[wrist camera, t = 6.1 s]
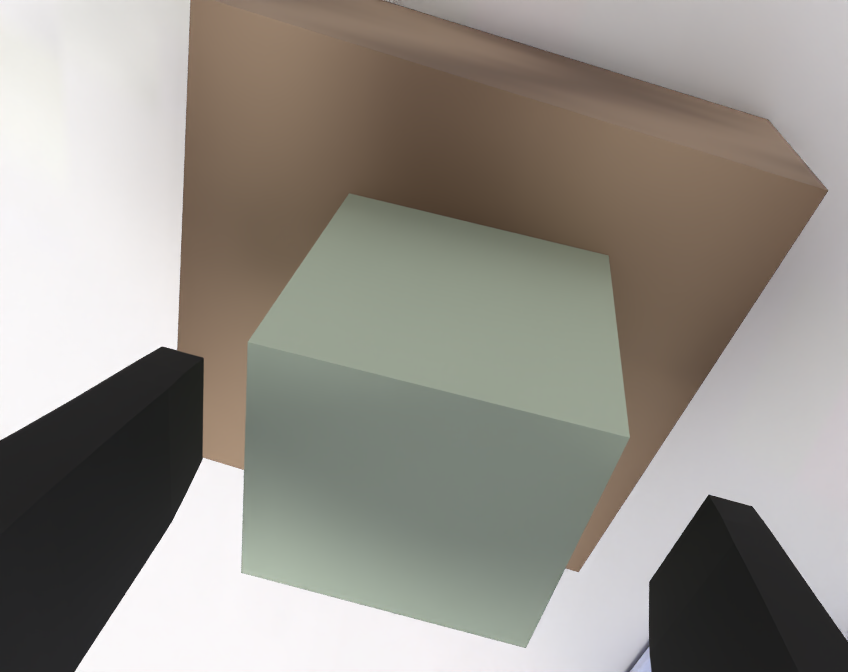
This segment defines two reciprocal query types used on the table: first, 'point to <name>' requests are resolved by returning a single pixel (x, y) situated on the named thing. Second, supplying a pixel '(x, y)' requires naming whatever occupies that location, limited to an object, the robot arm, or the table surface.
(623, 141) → the walnut block
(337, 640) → the table surface
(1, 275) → the table surface
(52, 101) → the table surface
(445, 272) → the sage cube
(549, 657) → the table surface
